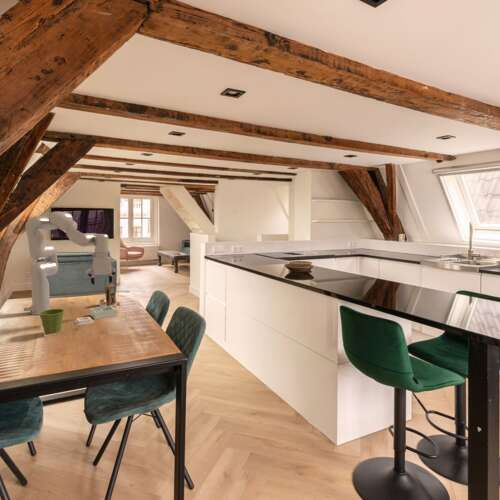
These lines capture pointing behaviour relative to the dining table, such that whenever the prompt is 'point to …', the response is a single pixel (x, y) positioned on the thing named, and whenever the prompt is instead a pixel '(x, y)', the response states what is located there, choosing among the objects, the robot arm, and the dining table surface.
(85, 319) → the checker cradle
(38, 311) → the robot arm
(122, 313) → the dining table surface
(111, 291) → the multimeter
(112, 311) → the white open box
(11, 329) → the dining table surface
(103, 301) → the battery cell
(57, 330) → the plant pot
